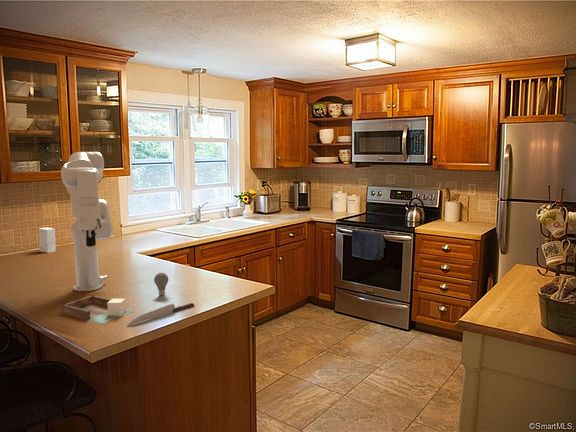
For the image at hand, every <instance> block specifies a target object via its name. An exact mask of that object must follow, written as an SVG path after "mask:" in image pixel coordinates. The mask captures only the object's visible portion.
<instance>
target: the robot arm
mask: <svg viewBox="0 0 576 432" xmlns="http://www.w3.org/2000/svg"><path fill="white" fill-rule="evenodd" d="M104 167H105V160H104V157H103V155H102V153H101V152H98V151H77V152H73V153H72V154H70V156H69V159H68V162H66V163H64V164H63V165H62V166H61V171H60V177H61V180H62V183H63V185H64V186H65V188H66V190H67V192H68V194H69V196H70V205H71V206H70V207H71V212H72V217H73V218H74V219H75V221H73V222H72V223H71V226H70V233H71V237H72V243H73V249H74V251H73V252H74V261H75V263H74V264H75V275H76V284H75V285H73V291H76V292H89V291H90V292H91V291H96V290H99V289H102V288H103V287H104V283H103V281H106V280H108V278H109V276H108V275H103V276H102V275H100V274H99V273H100V272H99V257H98V249H97V247H96V245H97V243H96V240H97V241H98V240H105V239H106V240H107V239H110V238H112V236H113V235H114V234H113V231H114V229H113V223H112V222H113V221H112V218H111V212H110V211H111V210H110V206H109V203H108V201H107V200H105V199H102V198H101V199H100V198H99V183H100V181H102V179H103V176H104V169H105V168H104Z"/></svg>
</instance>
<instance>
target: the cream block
mask: <svg viewBox="0 0 576 432" xmlns="http://www.w3.org/2000/svg"><path fill="white" fill-rule="evenodd" d="M111 299H112V300H110V301H109V302H108V303H107V307H108V315H110V316H121V315H122V314H123V313H125V312H126V309H127V304H126V302H127V301H126V298H111ZM121 317H122V316H121Z"/></svg>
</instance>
